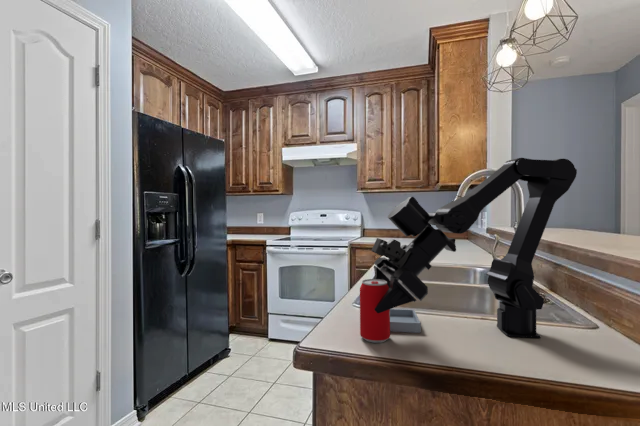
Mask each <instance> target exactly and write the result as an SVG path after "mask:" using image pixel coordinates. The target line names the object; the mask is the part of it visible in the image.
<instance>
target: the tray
mask: <svg viewBox="0 0 640 426" xmlns="http://www.w3.org/2000/svg"><path fill="white" fill-rule="evenodd" d="M421 324H422V323H421V321H420V319H419V317H418V315H417V313H416V310H415V309H411V308H410V309H409V308H403V309H402V308H392V309H390V332H395V333H396V332H398V333H399V332H400V333H416V334H418V333H420V334H421V332H422V331H421V330H422V329H421V327H422V326H421Z"/></svg>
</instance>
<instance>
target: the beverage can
mask: <svg viewBox="0 0 640 426" xmlns="http://www.w3.org/2000/svg"><path fill="white" fill-rule="evenodd" d="M388 289H389V287H388V285H387V281H385V280H380V279H373V278H368V279H364V280H362V282H361V285H360V287H359V334H360V337H361V339H364V340H365V341H366V342H369V343H373V344H378V343H380V344H381V343H384V342H386V341H387V340H389V339H390V338H391V331H390V309H389V310H386V311H384V312H381V313H377V312H376V311H375V310H374V309H375V307H376V306H377V304H378V303H379V301H380V300H381V299H382V297H383V296H384V295H385V293H386V292H387V291H388Z"/></svg>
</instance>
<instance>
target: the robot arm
mask: <svg viewBox="0 0 640 426" xmlns="http://www.w3.org/2000/svg"><path fill="white" fill-rule="evenodd" d="M577 172H578V170H577V168H576V167H575V165H574V163H573V162H572V161H571V160H569V159H567V158H557V159H553V160H552V159H532V158H526V157H518V158H513V159H509V160H507V161H505V162H504V163H503V164H502V165H501V167H499V168H498V169H497V170H496V171H494V172H493V173H492V174H490V175H489V176H488V177H487V178H485V179H484V180H483V181H482V182H481V183H479V184H478V185H477V186H476V187H474V188H473V189H472V190H471V191H469V192H468V193H467V194H465V195H463V196H461V197H460V198H458V199H455V200H453V201H450V202H448V203H446V204H444V205H443V206H441V207H439V208H438V209H437V210H436V211H435V212H427V211H426V209H425V208H424V207H423V206H421V204H419V201H418V200H417V199H416V198H415V196H408V197H407V198H406V199H405V200H404V201H402V202H400V203H399V204H398V205H397V206H394V208H392V210H391V211H390V212H389V213H388V215H387V218H388V219H389V221H391V223H392V224H393V225H394V226H395V227H396V228H397V229H398V230H399V231H400V232H401V233H402V234H403V236H405V237H409V236H411V237H415V238H414V239H413V240H412V241H411V242H410V243H409V244H408V245H407V244H402V243H401V242H400V241H398V240H397V239H395V238H391V239H390V240H388V241H387V240H384V239H382V238H379V237H376V239H375V242H374V244H373V245H372V248H371V250H370V251H371V252H372V253H374V254H376V255H379V256H381V257H377V259H376V260H375V261H374V262H373V264H374V265H373V269H374V277H373V278H372V279H380V280H385V281H387V285H388V287H389V289H388V291H387V292H386V293H385V295H384V296H383V297H382V299H381V300H380V301H379V303H378V304H377V306H376V307H375V309H374V310H375V311H376V312H377V313H381V312H384V311H386V310H389V309H395V308H397V307H400V306H402V305H406V304H409V303H413V302H414V303H415V302H417V300H418V301H420V302H422V301H423V300H424V299H425V297H426V296H428V294H429V293H428V291H429V289H428V288H429V287H428V286H427V285H426V283H424V282H423V280H422V279H420V278H419V275H420V274H421V273H422V272H423V271H424V270H425V269H426V270H428V271H429V270H430V269H431V268H432V267H433V266H432V265H431V264H430V263H432V262H433V261H434V260H435V258H436V257H437V256H438V255H440V253H441V252H442V251H443V250H444V249H445V250H446V251H450V252H453V253H454V252H456V251H457V246H456V238H453V237H448V236H447V235H446V233H450V234H451V233H452V234H458V235H460V234H464V233H466V232H468V230H469V229H470V228H471V227H472V226H473V225H474V224H475V223H476V222H477V221H478V220H479V216H480V213H482V211H483V210H484V208H486V207H487V206H489V204H491V203H492V202H493V201H495V200H496V199H497V198H498V197H499V196H501V195H503V193H504V192H505V191H506V190H508V189H509V188H511V187H512V186H513V185H514V184H516V183H517V182H518V181H522V182H527V183H526V185H527V191H528V195H529V196H528V199H527V202H526V203H525V207H524V210H523V212H522V215H521V217H520V220H519V222H518V225H517V228H516V230H515V233H514V235H513V238H512V241H511V242H510V246H509V248H508V251H507V253H505V256H503V257H502V258H501V259H498V258H493V260H492V261H491V266H490V268H489V270H488V272H486V276H487V285H488V288H489V289H490V290H491V291H492V292H493V296H494V298H495V300H497V301H499V308H498V307H497V308H496V318H497V319H496V322H497V323H496V327H497V328H498V329H499V330H500V331H501V332H502V333H503V334H504V335H506V336H507V337H515V338H516V337H517V338H533V339H534V338H536V339H540V338H541V334H539V333H538V332H537V310H542V309H543V306H544V302H545V299H544V298H543V297H542V295H540V294H539V293H538V292H537V290H536V289H534V281H535V273H534V269H533V261H534V257H535V255H536V253H537V250H538V247H539V245H540V242H541V240H542V237H543V234H544V233H545V230H546V226H547V224H548V222H549V219H550V216H551V214H552V212H553V209H554V206H555V204H556V203H557V201H558V200H559V199H561V198H562V196H564V195H565V194H566V193H567V192H568V191H569V190H570V188H571V186H572V184H573V183H574V181H575V180H576V178H577V174H578V173H577ZM434 226H435V227H436V229H435V227H434ZM401 244H402V245H401Z"/></svg>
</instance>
